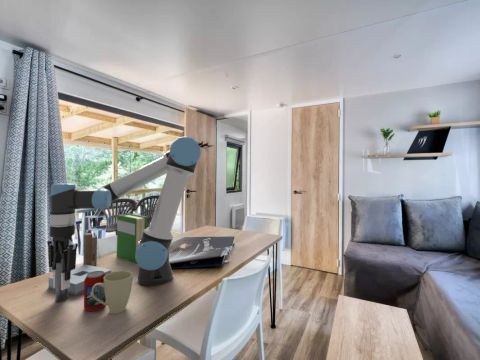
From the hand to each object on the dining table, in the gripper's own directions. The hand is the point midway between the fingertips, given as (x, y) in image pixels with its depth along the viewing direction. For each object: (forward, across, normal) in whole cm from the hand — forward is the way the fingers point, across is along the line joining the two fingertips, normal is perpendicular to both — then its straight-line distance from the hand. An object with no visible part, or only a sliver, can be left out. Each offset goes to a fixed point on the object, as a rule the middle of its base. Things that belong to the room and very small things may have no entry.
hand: (61, 287), depth 90 cm
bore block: (+5, +6, -12) cm, 14 cm away
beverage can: (+5, -16, -1) cm, 17 cm away
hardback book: (+5, +12, -46) cm, 48 cm away
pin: (+5, 0, 0) cm, 5 cm away
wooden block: (+5, +19, -26) cm, 33 cm away
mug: (+5, -24, -2) cm, 25 cm away
